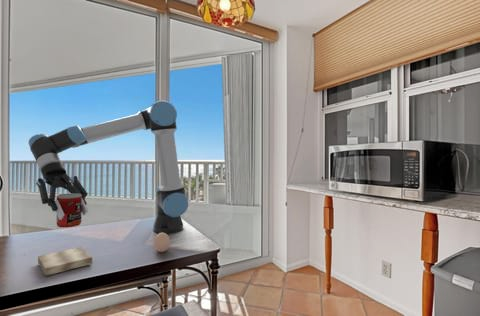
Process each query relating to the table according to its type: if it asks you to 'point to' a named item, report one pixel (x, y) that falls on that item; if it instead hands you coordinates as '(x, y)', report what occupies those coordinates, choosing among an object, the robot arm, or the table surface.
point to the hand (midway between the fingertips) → (74, 215)
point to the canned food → (70, 209)
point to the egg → (161, 242)
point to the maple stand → (64, 260)
